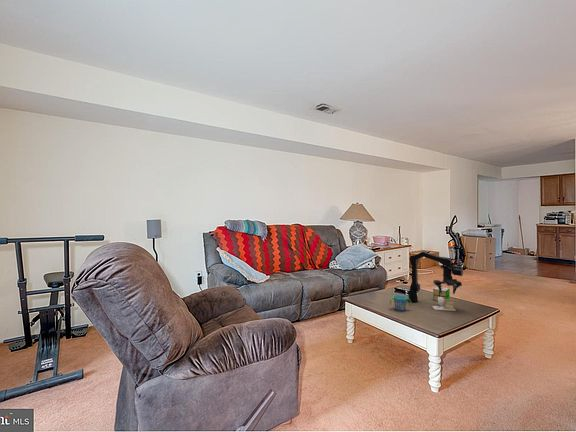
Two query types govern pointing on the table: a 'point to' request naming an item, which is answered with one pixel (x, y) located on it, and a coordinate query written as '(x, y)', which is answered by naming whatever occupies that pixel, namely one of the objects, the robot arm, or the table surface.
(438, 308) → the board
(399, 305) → the snack cup
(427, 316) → the table surface
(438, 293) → the puzzle cube
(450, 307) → the maple block
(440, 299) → the ceramic cylinder
